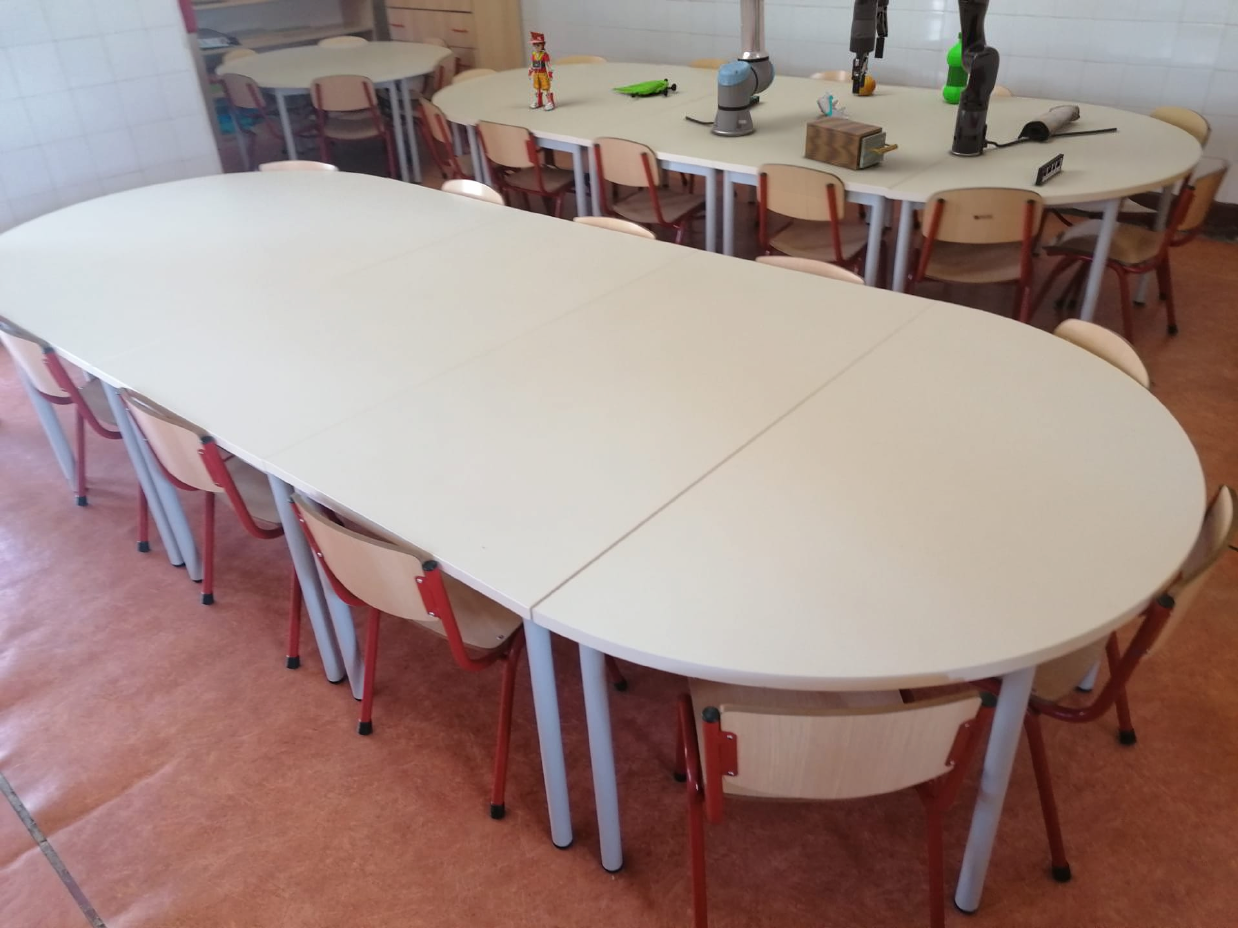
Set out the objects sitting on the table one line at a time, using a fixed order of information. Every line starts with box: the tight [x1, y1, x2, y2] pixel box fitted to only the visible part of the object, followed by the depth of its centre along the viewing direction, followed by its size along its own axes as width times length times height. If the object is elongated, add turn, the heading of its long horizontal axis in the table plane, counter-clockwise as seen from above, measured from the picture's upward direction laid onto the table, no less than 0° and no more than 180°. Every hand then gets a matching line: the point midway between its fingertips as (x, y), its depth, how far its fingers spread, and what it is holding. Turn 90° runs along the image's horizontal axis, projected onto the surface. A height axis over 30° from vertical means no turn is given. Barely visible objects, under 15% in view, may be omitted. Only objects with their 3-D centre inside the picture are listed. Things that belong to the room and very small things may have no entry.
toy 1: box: [527, 31, 556, 111], centre depth 374 cm, size 12×9×30 cm
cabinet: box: [804, 116, 883, 171], centre depth 298 cm, size 22×12×11 cm, turn 38°
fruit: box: [858, 75, 877, 96], centre depth 370 cm, size 8×9×8 cm
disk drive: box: [749, 95, 761, 108], centre depth 367 cm, size 10×3×15 cm
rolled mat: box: [1017, 104, 1081, 143], centre depth 313 cm, size 30×9×10 cm
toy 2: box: [612, 78, 677, 99], centre depth 396 cm, size 28×5×30 cm
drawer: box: [858, 131, 899, 169], centre depth 294 cm, size 26×10×9 cm, turn 38°
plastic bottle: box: [942, 31, 970, 104], centre depth 348 cm, size 10×10×25 cm
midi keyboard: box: [1035, 153, 1065, 186], centre depth 273 cm, size 18×1×5 cm, turn 138°
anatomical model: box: [816, 91, 851, 120], centre depth 342 cm, size 15×10×10 cm
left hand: (871, 62), depth 306 cm, fingers open, 13 cm apart
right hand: (858, 90), depth 284 cm, fingers open, 8 cm apart
